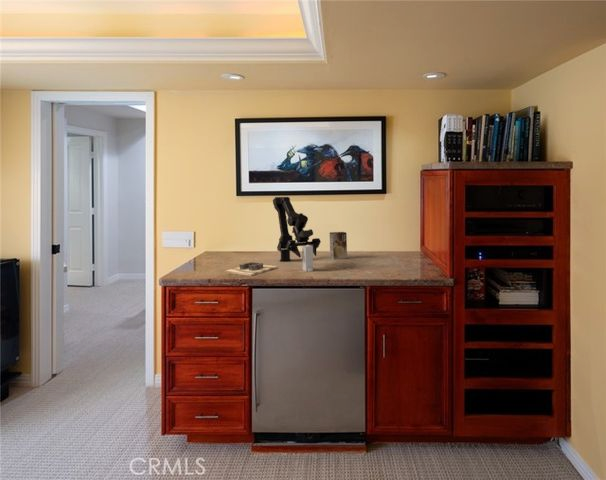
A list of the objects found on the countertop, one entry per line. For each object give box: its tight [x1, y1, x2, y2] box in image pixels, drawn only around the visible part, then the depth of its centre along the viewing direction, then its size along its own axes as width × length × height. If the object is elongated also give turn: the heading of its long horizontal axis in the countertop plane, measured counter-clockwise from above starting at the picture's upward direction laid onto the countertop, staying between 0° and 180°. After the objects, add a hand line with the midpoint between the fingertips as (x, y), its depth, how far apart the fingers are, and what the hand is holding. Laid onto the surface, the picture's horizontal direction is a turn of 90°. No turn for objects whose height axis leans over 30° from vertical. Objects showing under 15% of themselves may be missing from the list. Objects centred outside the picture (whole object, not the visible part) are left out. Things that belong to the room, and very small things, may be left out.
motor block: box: [301, 245, 314, 273], centre depth 256 cm, size 6×4×14 cm
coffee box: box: [329, 231, 348, 260], centre depth 293 cm, size 9×6×16 cm
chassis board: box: [223, 261, 279, 277], centre depth 261 cm, size 24×18×4 cm
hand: (308, 256), depth 257 cm, fingers open, 9 cm apart
